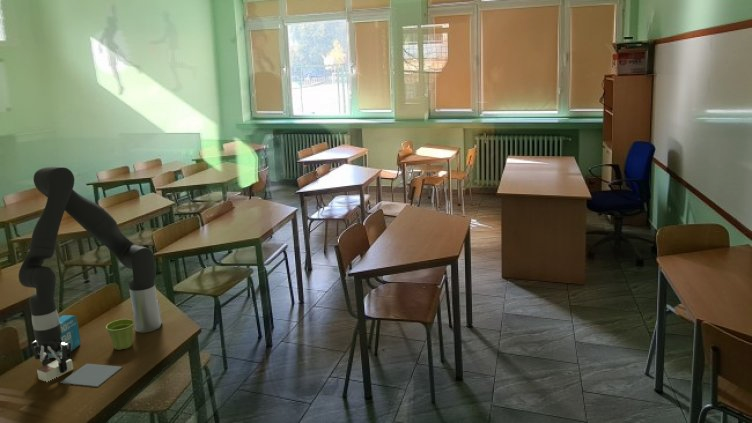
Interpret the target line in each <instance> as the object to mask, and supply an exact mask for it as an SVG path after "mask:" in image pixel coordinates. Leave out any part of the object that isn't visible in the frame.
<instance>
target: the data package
mask: <svg viewBox="0 0 752 423" xmlns="http://www.w3.org/2000/svg"><path fill="white" fill-rule="evenodd" d="M59 321H60V326H61V332H62V335H61V340H62V342H63V343H66V344H67V343H68V342H69V343H70V344H71V352H72V351H74V349H76V348H78V347H79V346H80V344H81V342H82V340H81V335H80V334H81V333H80V328H79V324H78V319H77V316H76V315H72V314H71V315H70V314H69V315H66V314H63V315H61V316H59ZM59 352H60V351H58V352H57V354H58V353H59ZM60 358H62V357H61V355H60ZM48 359H55V358H54V357H53V355H52V354H50V353H49V358H48Z"/></svg>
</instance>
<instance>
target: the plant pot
mask: <svg viewBox="0 0 752 423" xmlns="http://www.w3.org/2000/svg"><path fill="white" fill-rule="evenodd" d="M134 325H135V322H134V319H131V318H130V319H129V318H120V319H117V320H113V321H111V322H108V323H107V325H106V326H105V330H107V332H108V334H109V336H110V339H111V343H112V345H113V348H114V350H123V349H125V350H127V349H128V348H130V347H132V346H133V329H134Z"/></svg>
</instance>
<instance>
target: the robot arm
mask: <svg viewBox="0 0 752 423" xmlns="http://www.w3.org/2000/svg"><path fill="white" fill-rule="evenodd" d="M33 184H34V187H35V188H36V189H37V191H38V192H39V193H41V194H42V195H44V197H46V198H47V199H46V203H45V206H44V208H43V211H42V213H41V215H40V217H39V218H38V221H37V222H36V224H35V226H34V229H33V231H32V234H31V239H30V245H29V251H28V252H27V254H26V256H25V258H24V260H23V261H22V264H21V266H20V268H19V271H18V281H19V283H20V284H21V285H22V286H23V287H26V288H33V289H36V293H33V294H32V295H31V296H30V297H29V299H28V304H29V310H30V313H31V324H32V329H33V335H34V338H35V340H34V341H32V342H30V343H29V344H30V348H31V351H32V353H33V355H34V359H36V360H39V361H40V362H41V364H42V365H41V366H42V367H43V366H45V365H47V364H49V363H51V360H50V359H51V358H49V353H50V354H52V355H53V357H54V358H53V359H55V360H57V361H58V362H59V363H58V365H59V370H60V373H64V372H65V371H66V370H67V364H66V361H67V360H69V359H71V358H72V351H71V344H70V343H69V342H68V343H67V344H66V343H63V342H62V340H61V335H62V332H61V326H60V321H59V317H60V316H59V312H58V310H57V306H56V301H55V293H56V284H57V283H56V282H57V277H56V273H55V271H54V269H52V268H51V267H50V266H45V265H43V264H44V262H45V260H48V259H51V258H53V257H54V255H55V251H56V248H57V247H56V246H57V241H58V235H59V231H60V226H61V223H62V220H63V216H64V214H65V212H66V213H67V214H68V215H69V217H71V218H72V219H74V221H75V222H77V223H78V224H79V225H80V227H82V228H83V229H84V230H85V231H86V232H87V233H88V234H90V235H91V236H92V238H94V239H96V240H97V241H98V242H99V243H101V244H102V245H103V246H105V247H106V248H107V249H108V250H109V251H110V252H111V253H112V254H113V255H114V257H116V258H117V260H118V261H119V262H120V263H121V264H122V265H123V266H124V267H126V268H127V269H130V270H132V278H131V279H130V280H129V281H128V288H129V289H128V290H129V295H130V302H131V306H132V314H133V321H134V328H135V332H137V333H139V334H140V333H141V334H143V333H144V334H145V333H150V332H154V331H157V330H158V329H160V328H161V326H162V324H163V320H162V314H161V306H160V301H159V300H158V295H157V289H156V277H157V273H156V271H157V270H156V260H155V255H154V253H153V250H151V249H150V248H149V247H145V246H141V245H138V244H136V243H134V242H133V241H131V240H130V239H129V238H128V237H127V236H125V235H124V234H123V233H122V231H121V229H120V226H119V225H118V223H117V221H116V219H115V218H114V217H113V216H112V215H111V214H110V213H109V212H107V210H106V209H104V207H103V206H101V205H99V204H98V203H95V202H94V201H92V200H91V199H89V198H87V197H84V196H83V195H81V194H80V193H78V192H77V191H75V190H74V186H75V175H74V173H73V171H71V169H69V168H68V167H65V166H48V167H42V168H39V169H38V170H36V171H35V173H34V175H33ZM58 351H60V352H59V353H58V354H57V352H58ZM60 355H61V357H62V358H60Z"/></svg>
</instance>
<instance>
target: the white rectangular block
mask: <svg viewBox="0 0 752 423" xmlns="http://www.w3.org/2000/svg"><path fill="white" fill-rule="evenodd" d="M58 363H59V362H58V361H57V359H55V360H53V361H50V363H49V364H47V365H45V366H43V365H42V366H41V367H39V368H37V369H36V372H37V378H38V380H40V381H43V382H45V381H46V383H49V382H50V380H51V381H53V380H55V379H57V378H59V377H61V376H63V375H65V374H67V373H69V372H71V371H73V370H74V365H73V359H71V358H70V359H69V360H67V361H66V364H67V370H66V371H65V372H64V373H60V370H59V365H58ZM56 377H57V378H56ZM54 378H55V379H54ZM52 379H53V380H52ZM48 381H49V382H48Z"/></svg>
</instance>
